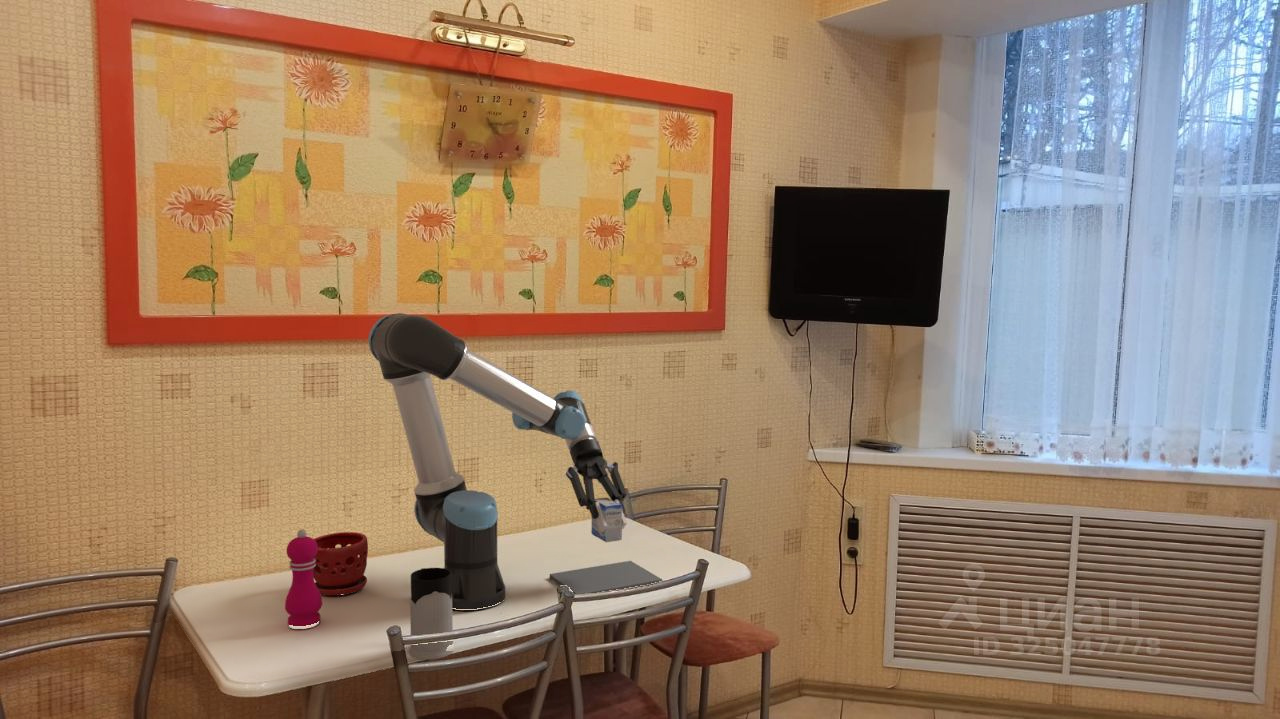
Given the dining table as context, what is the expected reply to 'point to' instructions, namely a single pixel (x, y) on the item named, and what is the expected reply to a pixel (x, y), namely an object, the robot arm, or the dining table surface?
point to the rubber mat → (605, 577)
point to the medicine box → (609, 521)
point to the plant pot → (340, 563)
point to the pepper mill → (303, 582)
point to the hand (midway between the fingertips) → (613, 527)
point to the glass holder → (431, 610)
